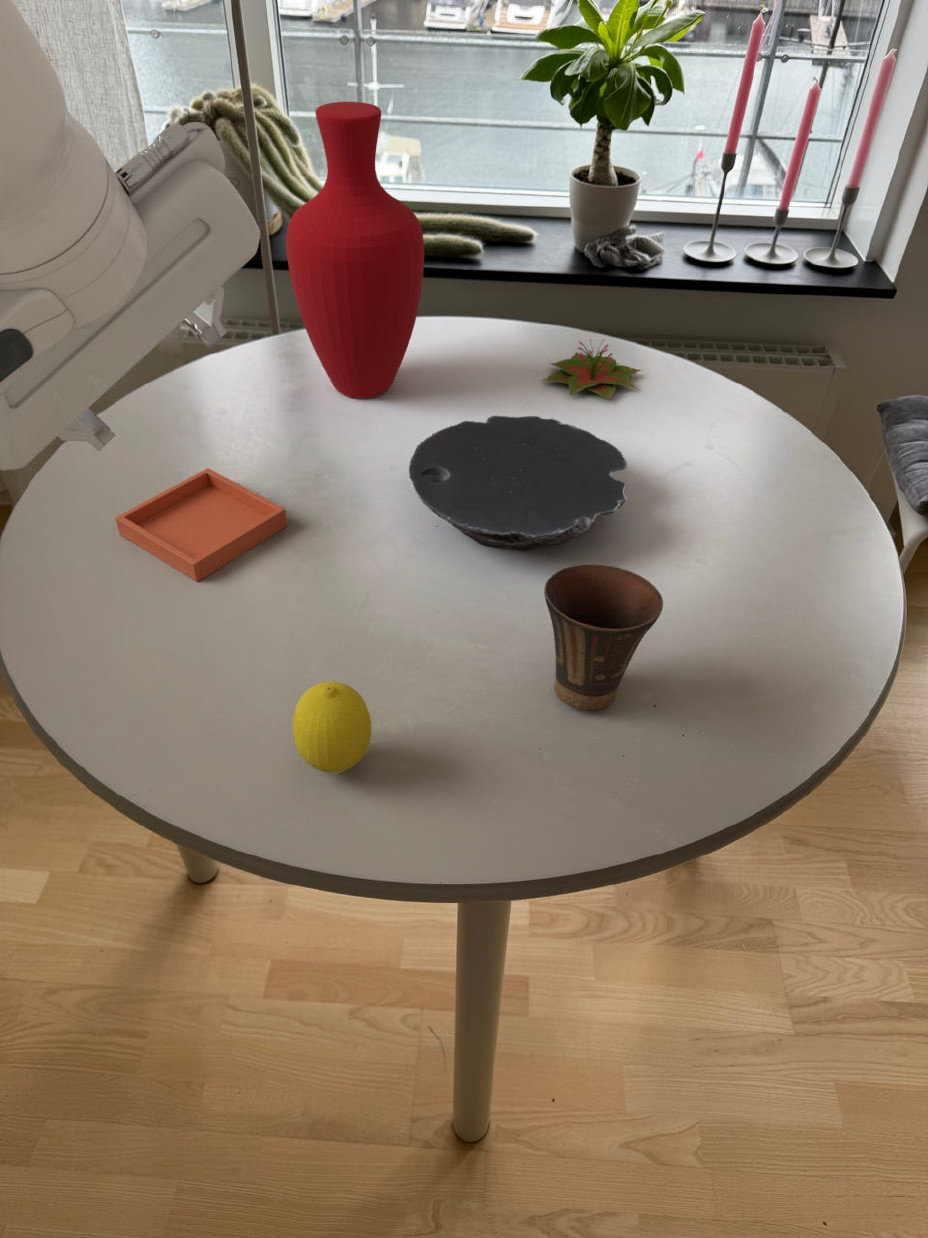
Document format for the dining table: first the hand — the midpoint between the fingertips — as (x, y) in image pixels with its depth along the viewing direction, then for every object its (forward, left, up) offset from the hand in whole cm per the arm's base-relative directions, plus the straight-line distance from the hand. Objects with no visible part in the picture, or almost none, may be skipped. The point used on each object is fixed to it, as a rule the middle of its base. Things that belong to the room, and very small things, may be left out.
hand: (156, 385), depth 60 cm
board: (+35, -4, -26) cm, 44 cm away
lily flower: (+63, +5, -26) cm, 68 cm away
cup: (+19, -23, -26) cm, 40 cm away
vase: (+44, +25, -26) cm, 57 cm away
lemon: (0, -13, -26) cm, 29 cm away
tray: (+13, +17, -26) cm, 33 cm away
